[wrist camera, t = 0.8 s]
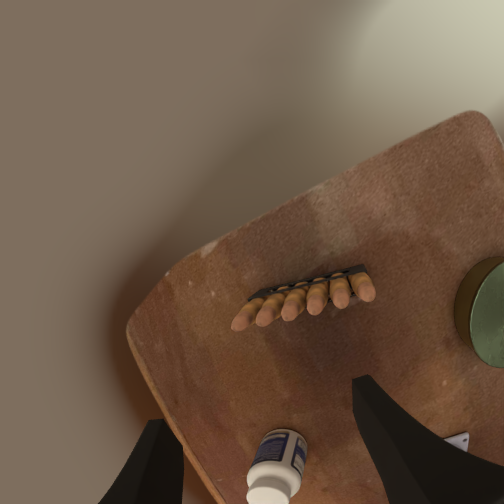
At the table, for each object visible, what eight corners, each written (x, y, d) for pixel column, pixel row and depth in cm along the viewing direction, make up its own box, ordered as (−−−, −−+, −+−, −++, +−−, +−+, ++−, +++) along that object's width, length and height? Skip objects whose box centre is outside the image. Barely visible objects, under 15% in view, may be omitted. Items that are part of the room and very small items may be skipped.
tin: (528, 337, 25) (550, 349, 20) (454, 363, 28) (470, 381, 23) (524, 246, 25) (548, 247, 20) (446, 266, 28) (465, 271, 23)
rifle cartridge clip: (262, 308, 32) (223, 344, 21) (257, 290, 33) (216, 318, 21) (367, 282, 30) (388, 308, 18) (363, 263, 30) (382, 279, 18)
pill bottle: (254, 451, 33) (230, 504, 24) (272, 420, 33) (250, 473, 23) (295, 467, 32) (281, 523, 23) (315, 437, 32) (306, 494, 22)
